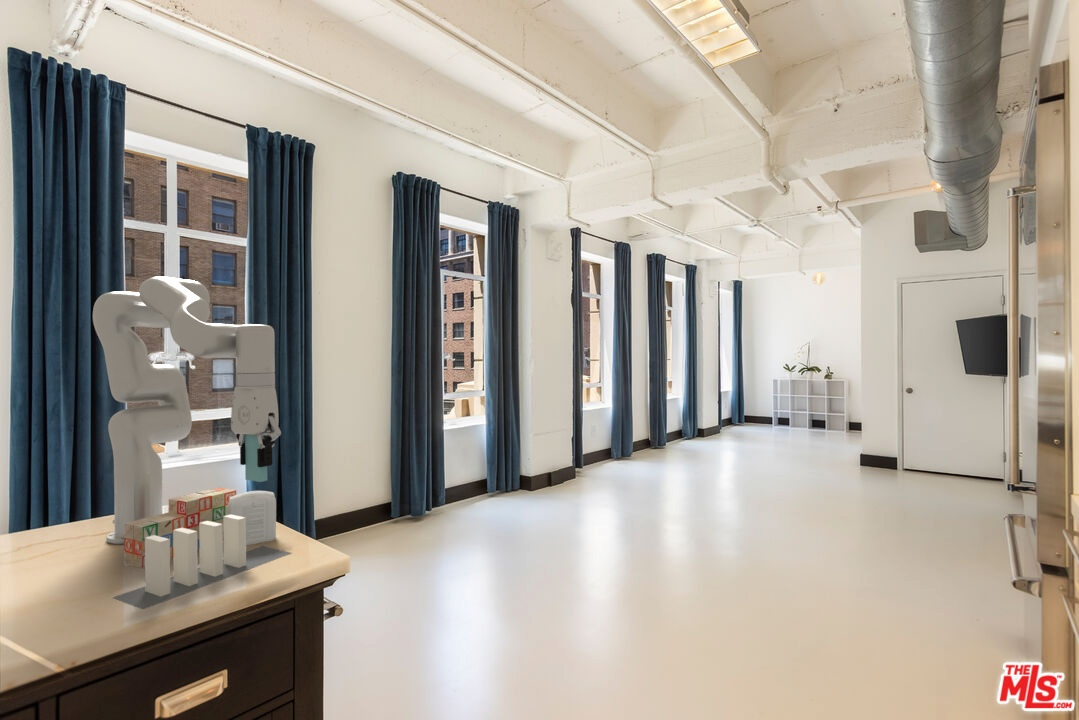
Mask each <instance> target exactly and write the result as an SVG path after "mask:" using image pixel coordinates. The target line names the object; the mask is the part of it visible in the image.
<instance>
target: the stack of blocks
mask: <svg viewBox="0 0 1079 720" xmlns="http://www.w3.org/2000/svg"><path fill="white" fill-rule="evenodd" d="M235 495H237V490H236V489H233V488H231V489H230V488H226V487H225V488H222V487H217V488H214V489H205V490H200V491H195V493H194V492H193V493H190V494H185V495H181V496H176V497H172V498H168V510H167V511H168V512H165V513H164V512H163V513H162V514H160V515H157V516H152V517H148V518H144V519H140V520H136V521H132V522H128V523H125V538H124V544H123V545H124V547H123V548H124V549H123V552H124V566H133V567H137V568H141V569H144V568H145V538H146V537H149V536H153V535H156V536H160V537H163V538H167V539H170V560H171V559H174V552H173V530H175V529H179V528H185V529H190V530H194V531H197V551H198V550H200V542H199V523H201V522H204V521H211V522H215V523H220V524H223V516H227V507H228V503H229V500H230V497H232V496H235ZM223 542H224V536H223Z"/></svg>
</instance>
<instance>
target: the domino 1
mask: <svg viewBox="0 0 1079 720" xmlns="http://www.w3.org/2000/svg"><path fill="white" fill-rule="evenodd" d="M144 568H145V569H144V572H145V575H144V576H145V578H144V579H145V580H144V581H145V582H144V583H145V585H144V586H145V591H146V592H149V593H152V594H155V595H158V596H164V595H167V594H169V593H170V577H171V559H170V539H167V538H163V537H160V536H156V535H153V536H149V537H146V538H145V567H144Z"/></svg>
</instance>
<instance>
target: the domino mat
mask: <svg viewBox="0 0 1079 720" xmlns="http://www.w3.org/2000/svg"><path fill="white" fill-rule="evenodd" d="M291 554H292V552H290V551H285V550H281V549H277V548H273V547H269V546H265V545H261V546H258V547H254V548H252V549H249V550H246V565H245V566H243V567H240V568H237V567H234V566H230V565H226V564H224V558H223V574H221V575H218V576H216V577H214V576H211V575H208V574H204V573H201V572H200V566H199V567H198V583H197V584H194V585H191V586H187V585H184V584H181V583H177V582H174V575H173V576H170V593H169V594H167V595H164V596H158V595H155V594H152V593H149V592H146V591H145V585H144V586H141V587H139V588H136V589H133V590H130V591H127V592H124V593H122V594H121V593H120V594H118V595H116V596H113V597H112V599H114V600H117V601H120V602H123V603H125V604H128V605H130V606H133V607H135V608H138V609H141V610H146V609H147V608H151V607H153V606H156V605H158V604H161V603H164V602H167V601H169V600H172V599H175V598H177V597H179V596H183V595H185V594H188V593H190V592H193V591H196V590H199V589H201V588H203V587H206V586H208V585H212V584H214V583H217V582H219V581H222V580H225V579H227V578H231V577H232V576H233V577H234V576H235V575H238V574H241V573H243V572H247V571H248V570H251V569H254V568H257V567H259V566H262V565H264V564H267V563H270V562H273V561H274V560H278V559H281V558H283V557H286V556H289V555H291Z"/></svg>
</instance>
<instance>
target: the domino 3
mask: <svg viewBox="0 0 1079 720" xmlns="http://www.w3.org/2000/svg"><path fill="white" fill-rule="evenodd" d="M199 542H200V549H199V567H200V572H201V573H204V574H208V575H211V576H214V577H216V576H218V575H221V574H223V559H224V541H223V524H220V523H215V522H211V521H204V522H201V523H199Z"/></svg>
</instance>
